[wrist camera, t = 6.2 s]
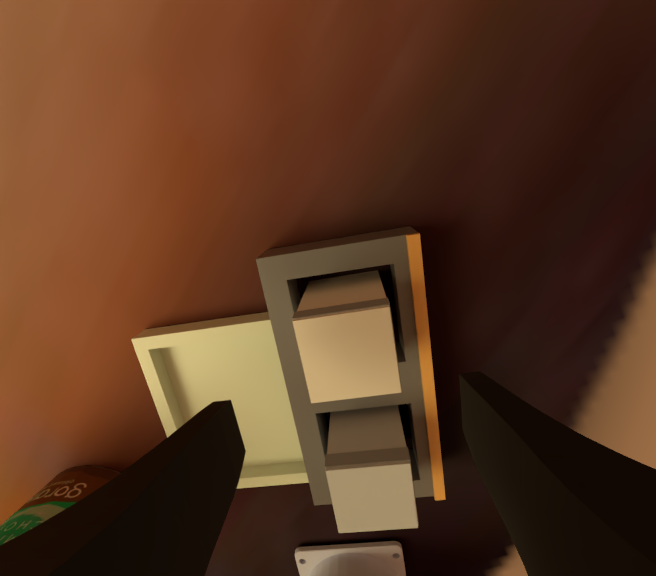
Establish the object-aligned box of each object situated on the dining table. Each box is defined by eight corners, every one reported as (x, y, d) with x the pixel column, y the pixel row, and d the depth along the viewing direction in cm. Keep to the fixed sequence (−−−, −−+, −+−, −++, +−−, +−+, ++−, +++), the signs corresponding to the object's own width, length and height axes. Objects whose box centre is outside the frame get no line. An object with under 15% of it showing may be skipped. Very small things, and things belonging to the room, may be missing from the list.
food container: (120, 428, 24) (-32, 592, 14) (170, 491, 25) (62, 678, 16) (-4, 484, 26) (-206, 657, 17) (49, 539, 28) (-109, 727, 18)
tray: (327, 463, 24) (326, 480, 22) (196, 476, 25) (187, 492, 23) (294, 308, 20) (290, 316, 19) (144, 329, 21) (130, 339, 20)
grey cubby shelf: (434, 462, 23) (445, 499, 20) (317, 473, 24) (313, 509, 21) (409, 226, 19) (419, 233, 16) (267, 249, 19) (254, 260, 17)
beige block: (401, 441, 23) (419, 528, 17) (340, 447, 23) (337, 533, 18) (394, 388, 22) (410, 462, 16) (330, 395, 22) (324, 470, 16)
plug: (378, 269, 19) (390, 305, 14) (387, 334, 21) (402, 393, 15) (307, 280, 20) (290, 320, 14) (321, 343, 21) (310, 404, 15)
